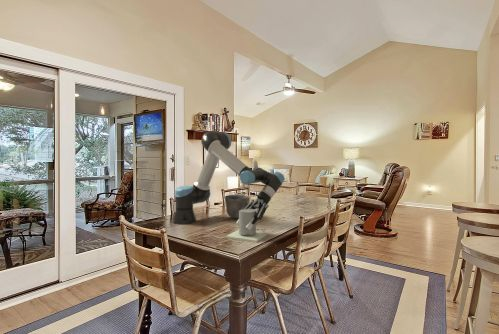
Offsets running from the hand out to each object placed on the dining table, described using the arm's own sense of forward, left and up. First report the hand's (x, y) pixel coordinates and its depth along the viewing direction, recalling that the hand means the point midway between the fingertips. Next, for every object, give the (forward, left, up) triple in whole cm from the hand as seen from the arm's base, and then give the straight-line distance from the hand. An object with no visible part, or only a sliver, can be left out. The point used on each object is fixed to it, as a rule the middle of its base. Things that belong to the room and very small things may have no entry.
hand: (242, 226), depth 150 cm
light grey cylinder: (+2, +3, -4) cm, 5 cm away
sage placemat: (+2, +3, -6) cm, 7 cm away
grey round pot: (-25, +39, -6) cm, 47 cm away
